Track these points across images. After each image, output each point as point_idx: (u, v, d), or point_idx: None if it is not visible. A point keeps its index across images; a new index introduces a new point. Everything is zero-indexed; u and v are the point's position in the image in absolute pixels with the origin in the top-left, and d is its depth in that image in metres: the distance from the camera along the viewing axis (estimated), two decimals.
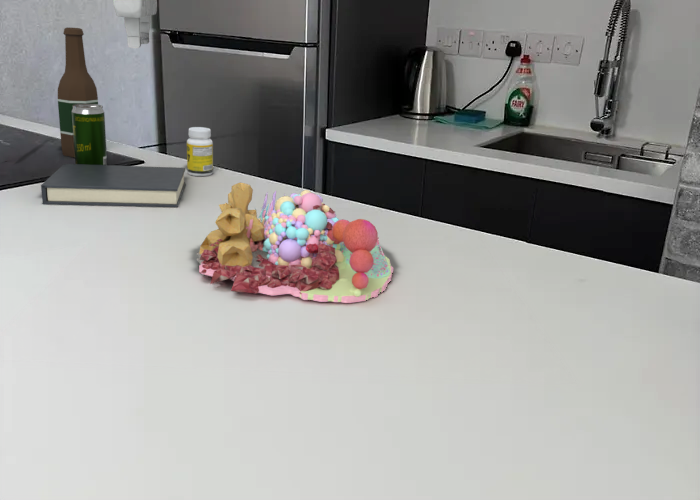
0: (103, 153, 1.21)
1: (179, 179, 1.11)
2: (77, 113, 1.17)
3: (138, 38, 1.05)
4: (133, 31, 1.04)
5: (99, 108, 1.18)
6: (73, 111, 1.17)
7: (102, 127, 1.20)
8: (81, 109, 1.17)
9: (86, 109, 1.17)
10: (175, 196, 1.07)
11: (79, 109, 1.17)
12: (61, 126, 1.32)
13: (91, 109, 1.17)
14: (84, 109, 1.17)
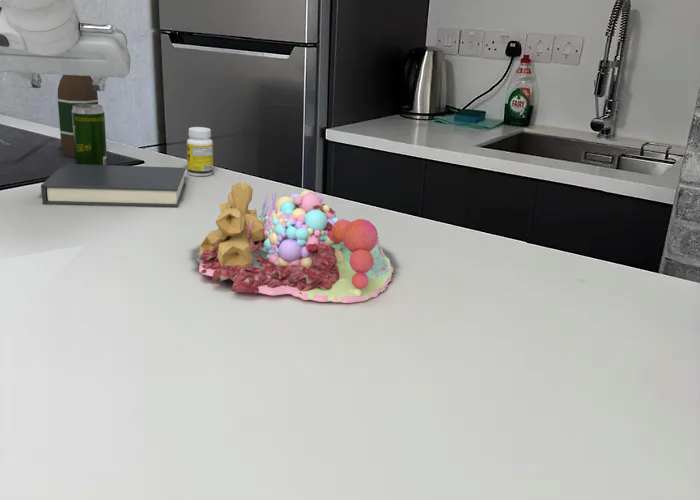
0: (103, 153, 1.21)
1: (179, 179, 1.11)
2: (77, 113, 1.17)
3: None
4: None
5: (99, 108, 1.18)
6: (73, 111, 1.17)
7: (102, 127, 1.20)
8: (81, 109, 1.17)
9: (86, 109, 1.17)
10: (175, 196, 1.07)
11: (79, 109, 1.17)
12: (61, 126, 1.32)
13: (91, 109, 1.17)
14: (84, 109, 1.17)
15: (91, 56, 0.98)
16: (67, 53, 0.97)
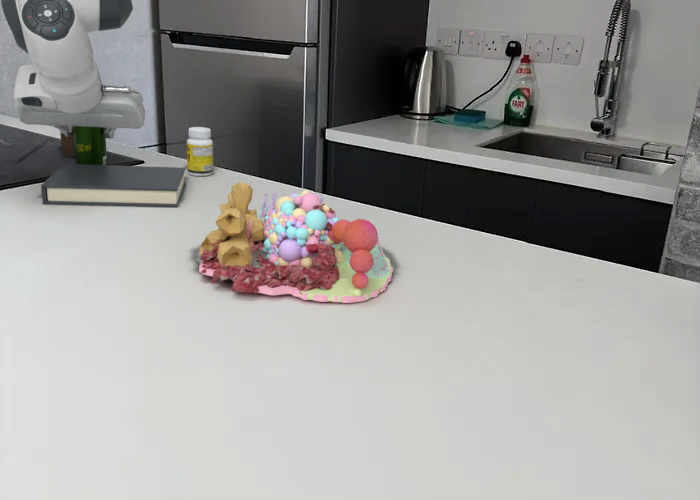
0: (103, 153, 1.21)
1: (179, 179, 1.11)
2: None
3: (64, 132, 1.19)
4: None
5: None
6: None
7: (102, 127, 1.20)
8: None
9: None
10: (175, 196, 1.07)
11: None
12: None
13: None
14: None
15: (111, 112, 1.13)
16: (91, 110, 1.12)
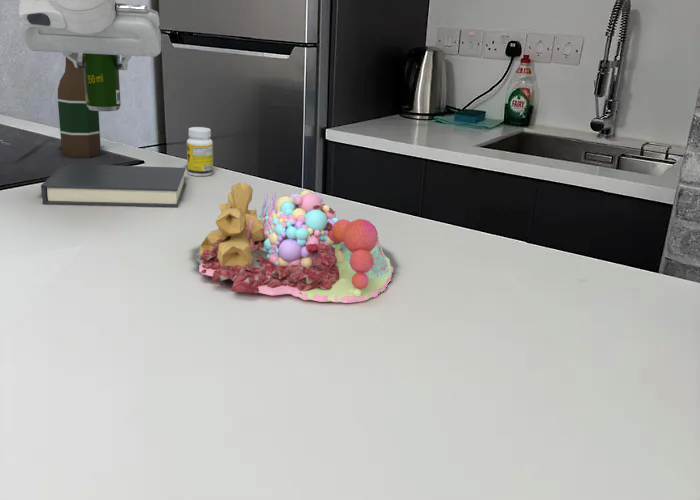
0: (116, 86, 1.11)
1: (179, 179, 1.11)
2: None
3: (73, 62, 1.09)
4: None
5: None
6: None
7: (115, 56, 1.09)
8: None
9: None
10: (175, 196, 1.07)
11: None
12: (61, 126, 1.32)
13: None
14: None
15: (126, 36, 1.03)
16: (103, 32, 1.02)
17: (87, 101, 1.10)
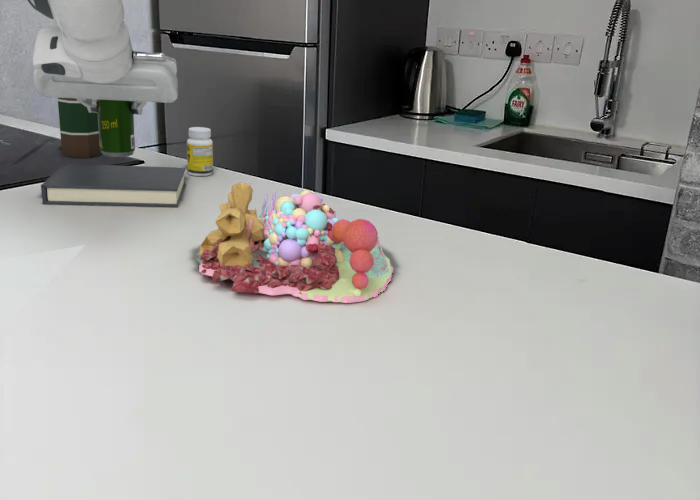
0: (130, 131, 1.08)
1: (179, 179, 1.11)
2: None
3: (87, 107, 1.06)
4: None
5: None
6: None
7: (130, 101, 1.06)
8: None
9: None
10: (175, 196, 1.07)
11: None
12: (61, 126, 1.32)
13: None
14: None
15: (142, 83, 1.00)
16: (119, 80, 0.99)
17: (101, 146, 1.07)
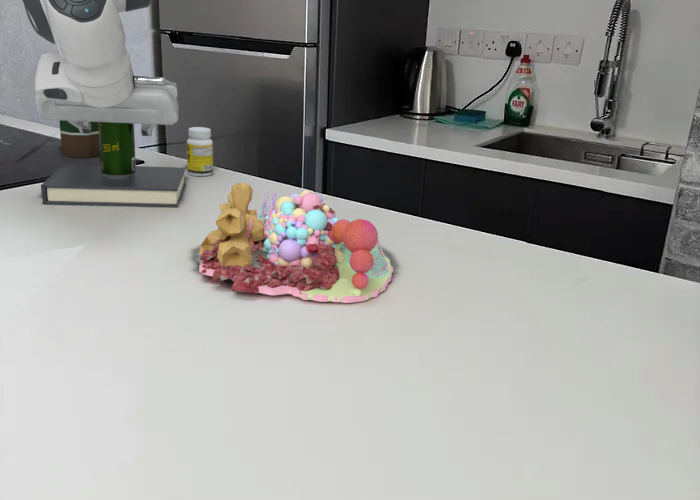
0: (131, 154, 1.09)
1: (179, 179, 1.11)
2: None
3: None
4: None
5: None
6: None
7: (131, 124, 1.08)
8: None
9: None
10: (175, 196, 1.07)
11: None
12: (61, 126, 1.32)
13: None
14: None
15: (143, 106, 1.01)
16: (120, 103, 1.00)
17: (102, 169, 1.09)
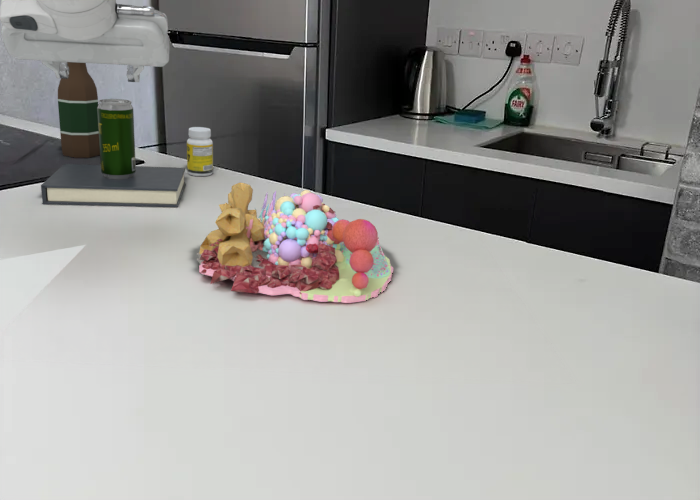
0: (131, 154, 1.09)
1: (179, 179, 1.11)
2: (104, 109, 1.05)
3: (54, 71, 0.93)
4: None
5: (128, 104, 1.06)
6: (99, 107, 1.05)
7: (131, 124, 1.08)
8: (108, 105, 1.05)
9: (114, 105, 1.05)
10: (175, 196, 1.07)
11: (106, 104, 1.05)
12: (61, 126, 1.32)
13: (119, 105, 1.05)
14: (112, 105, 1.05)
15: (128, 42, 0.87)
16: (101, 39, 0.86)
17: (102, 169, 1.09)
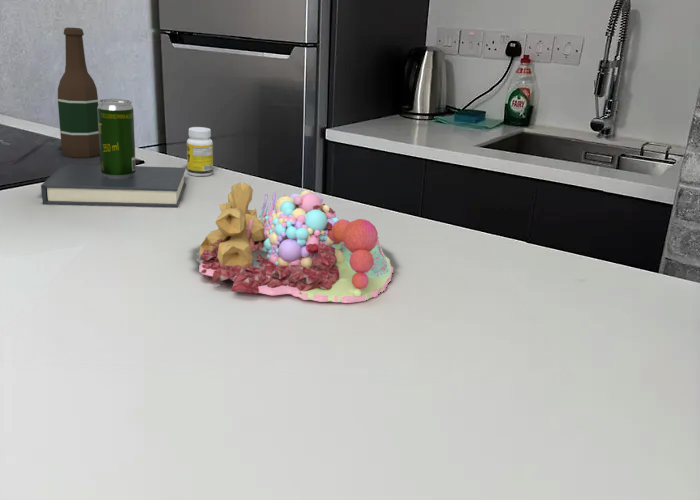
0: (131, 154, 1.09)
1: (179, 179, 1.11)
2: (104, 109, 1.05)
3: None
4: None
5: (128, 104, 1.06)
6: (99, 107, 1.05)
7: (131, 124, 1.08)
8: (108, 105, 1.05)
9: (114, 105, 1.05)
10: (175, 196, 1.07)
11: (106, 104, 1.05)
12: (61, 126, 1.32)
13: (119, 105, 1.05)
14: (112, 105, 1.05)
15: None
16: None
17: (102, 169, 1.09)
